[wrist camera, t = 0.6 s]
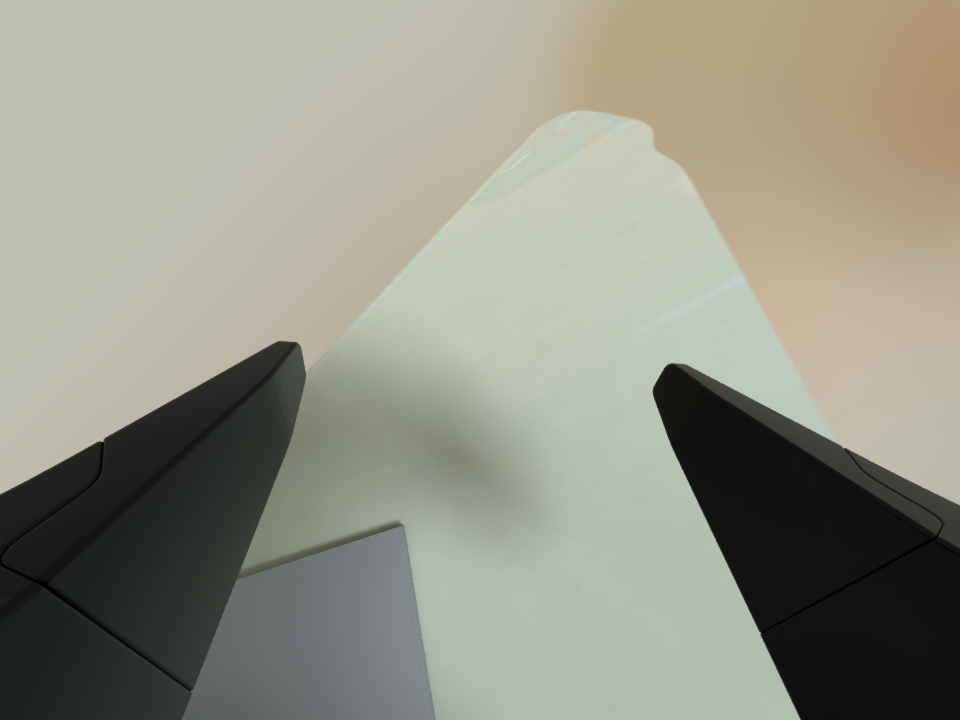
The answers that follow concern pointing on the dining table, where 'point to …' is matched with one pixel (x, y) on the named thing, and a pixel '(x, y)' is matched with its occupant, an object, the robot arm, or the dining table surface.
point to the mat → (320, 641)
